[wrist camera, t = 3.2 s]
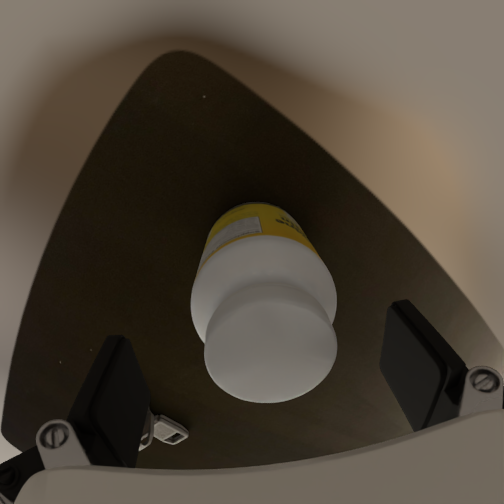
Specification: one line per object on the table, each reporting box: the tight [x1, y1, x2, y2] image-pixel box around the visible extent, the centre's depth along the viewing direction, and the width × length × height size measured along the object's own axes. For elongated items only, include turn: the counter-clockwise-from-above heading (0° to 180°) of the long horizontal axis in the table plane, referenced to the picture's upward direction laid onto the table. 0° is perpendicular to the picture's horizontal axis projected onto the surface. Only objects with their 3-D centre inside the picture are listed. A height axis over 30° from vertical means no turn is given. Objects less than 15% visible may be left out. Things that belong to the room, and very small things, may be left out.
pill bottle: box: [191, 202, 337, 403], centre depth 16 cm, size 6×6×12 cm
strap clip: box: [139, 408, 189, 451], centre depth 25 cm, size 8×3×4 cm, turn 45°
